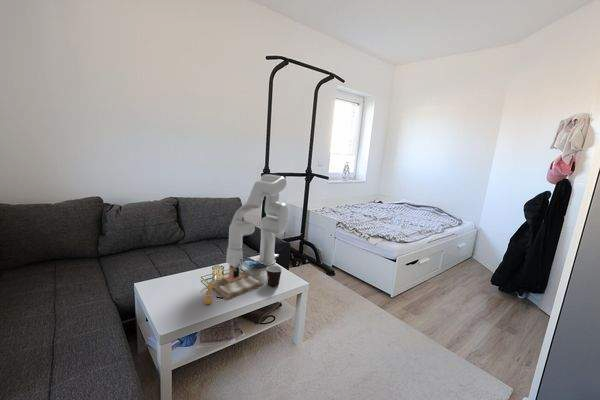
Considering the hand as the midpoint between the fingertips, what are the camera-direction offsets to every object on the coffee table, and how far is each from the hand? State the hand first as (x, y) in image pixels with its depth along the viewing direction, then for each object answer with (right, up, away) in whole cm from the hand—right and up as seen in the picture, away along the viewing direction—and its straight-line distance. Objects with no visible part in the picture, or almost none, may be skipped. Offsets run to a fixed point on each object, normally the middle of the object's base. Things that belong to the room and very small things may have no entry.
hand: (234, 275), depth 159 cm
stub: (0, -2, 0) cm, 2 cm away
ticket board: (+2, -5, -4) cm, 6 cm away
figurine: (-7, -8, -24) cm, 26 cm away
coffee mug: (+22, -5, +2) cm, 23 cm away
